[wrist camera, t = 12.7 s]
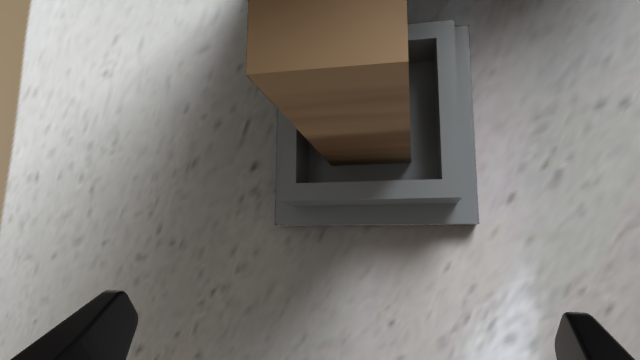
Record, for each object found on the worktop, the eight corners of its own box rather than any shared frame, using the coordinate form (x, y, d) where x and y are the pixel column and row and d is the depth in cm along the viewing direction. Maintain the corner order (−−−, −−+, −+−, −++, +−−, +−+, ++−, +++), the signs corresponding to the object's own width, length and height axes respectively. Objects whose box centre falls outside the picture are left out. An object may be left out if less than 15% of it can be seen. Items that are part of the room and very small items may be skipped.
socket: (476, 224, 22) (487, 219, 18) (280, 226, 24) (258, 221, 20) (466, 34, 23) (474, -3, 20) (283, 51, 25) (264, 20, 22)
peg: (411, 163, 22) (408, 61, 10) (331, 165, 23) (245, 74, 11) (408, 85, 22) (404, -92, 11) (331, 91, 23) (250, -69, 12)
